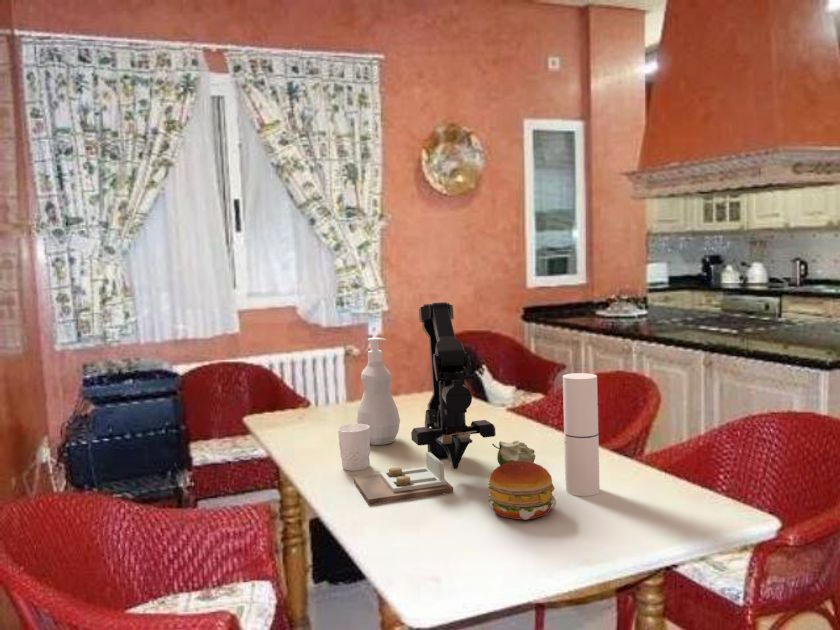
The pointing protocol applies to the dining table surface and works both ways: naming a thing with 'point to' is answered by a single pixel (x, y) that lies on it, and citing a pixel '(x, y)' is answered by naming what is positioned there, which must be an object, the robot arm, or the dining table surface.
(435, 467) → the panel
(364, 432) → the white cup
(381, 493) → the board
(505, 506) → the burger
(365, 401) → the soap bottle
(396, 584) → the dining table surface
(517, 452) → the fruit
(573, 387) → the cylindrical container
